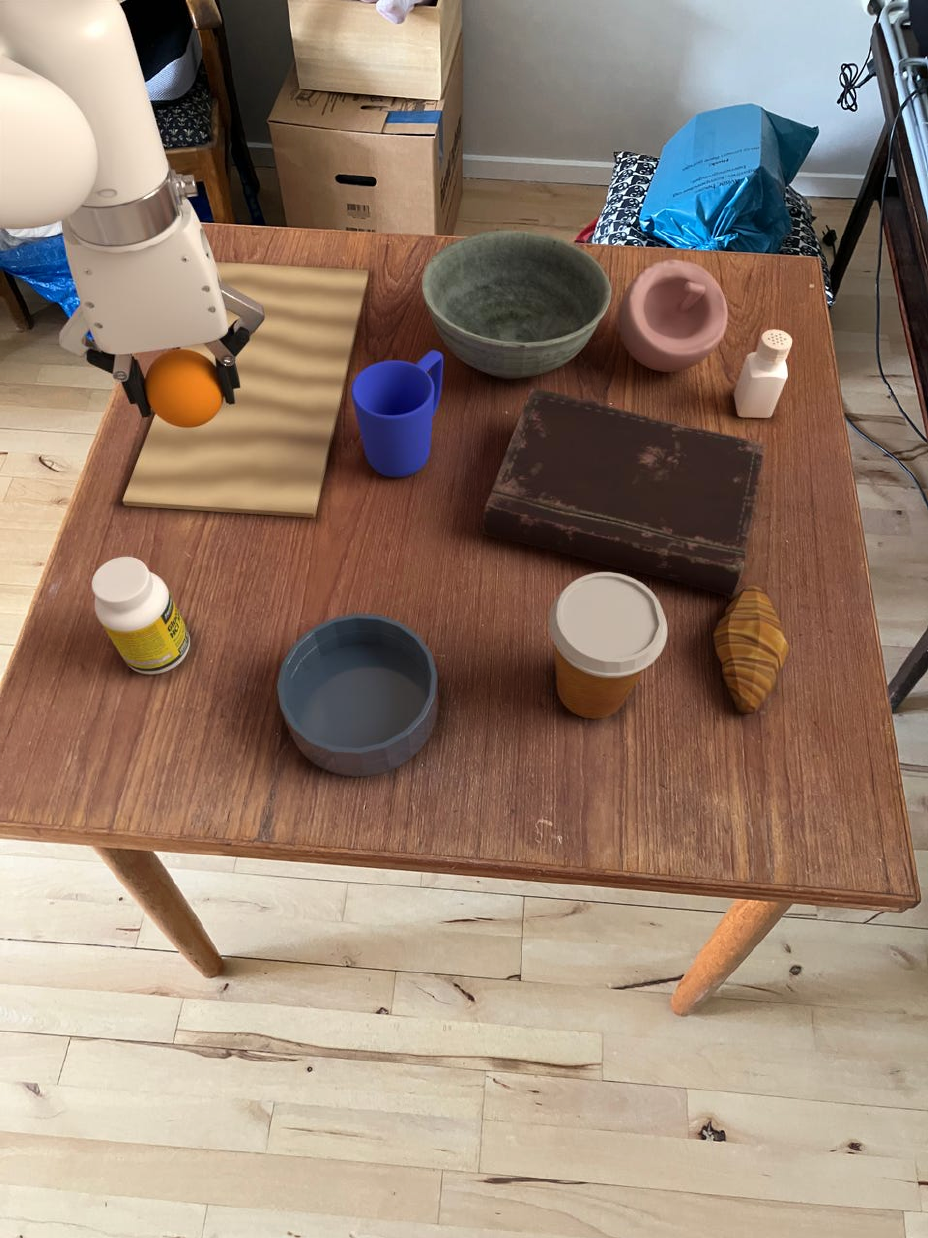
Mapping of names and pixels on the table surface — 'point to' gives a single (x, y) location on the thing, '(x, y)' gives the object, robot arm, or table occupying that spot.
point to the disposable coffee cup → (604, 640)
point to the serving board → (264, 402)
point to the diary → (627, 491)
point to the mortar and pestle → (672, 315)
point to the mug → (398, 412)
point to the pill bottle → (139, 616)
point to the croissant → (750, 648)
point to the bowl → (515, 301)
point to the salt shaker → (763, 376)
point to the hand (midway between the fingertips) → (188, 398)
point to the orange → (183, 388)
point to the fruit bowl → (359, 694)
